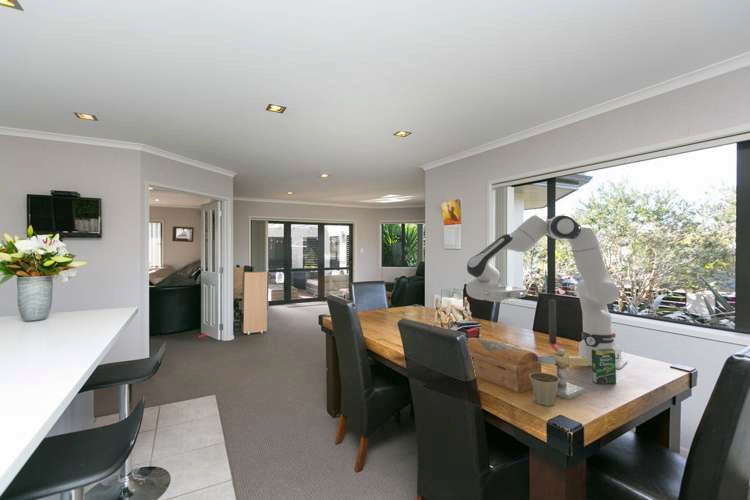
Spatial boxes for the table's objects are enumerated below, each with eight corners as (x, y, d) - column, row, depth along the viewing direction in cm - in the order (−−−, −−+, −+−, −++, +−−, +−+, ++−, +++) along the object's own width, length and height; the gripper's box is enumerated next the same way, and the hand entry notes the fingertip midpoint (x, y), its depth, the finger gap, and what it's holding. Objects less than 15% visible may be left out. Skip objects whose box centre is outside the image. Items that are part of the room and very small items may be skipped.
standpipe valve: (554, 381, 140) (553, 348, 140) (591, 392, 128) (590, 356, 128) (533, 388, 132) (532, 353, 132) (570, 401, 121) (570, 363, 121)
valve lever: (566, 355, 129) (565, 305, 129) (558, 355, 129) (557, 304, 129) (555, 345, 142) (554, 300, 142) (548, 345, 143) (547, 299, 143)
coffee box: (596, 384, 136) (595, 350, 136) (591, 381, 139) (590, 348, 139) (616, 384, 136) (616, 350, 136) (611, 381, 139) (611, 348, 139)
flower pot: (551, 411, 114) (550, 384, 114) (523, 401, 121) (523, 376, 121) (565, 403, 119) (565, 378, 119) (538, 394, 127) (538, 370, 127)
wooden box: (544, 385, 136) (543, 349, 136) (517, 394, 128) (516, 356, 128) (483, 364, 162) (482, 334, 162) (457, 371, 153) (456, 339, 153)
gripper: (480, 286, 158) (507, 289, 147) (509, 284, 169) (536, 286, 158) (480, 300, 158) (507, 304, 147) (509, 297, 169) (536, 300, 158)
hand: (522, 295), depth 152 cm, fingers closed
